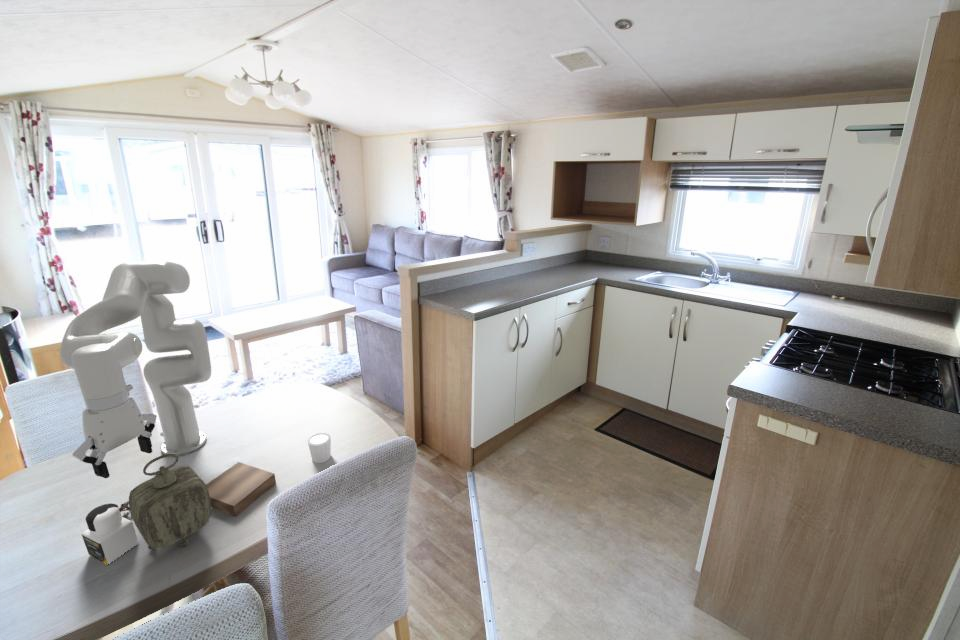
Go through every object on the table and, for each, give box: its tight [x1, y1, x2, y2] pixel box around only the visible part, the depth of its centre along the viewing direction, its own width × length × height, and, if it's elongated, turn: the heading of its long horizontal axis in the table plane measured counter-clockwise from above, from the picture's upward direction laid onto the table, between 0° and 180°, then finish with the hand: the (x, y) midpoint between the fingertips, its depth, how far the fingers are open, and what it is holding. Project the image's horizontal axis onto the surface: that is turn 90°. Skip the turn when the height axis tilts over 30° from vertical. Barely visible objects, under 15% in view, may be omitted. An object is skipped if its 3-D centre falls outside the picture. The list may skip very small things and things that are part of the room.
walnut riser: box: [205, 461, 277, 517], centre depth 127 cm, size 14×14×4 cm
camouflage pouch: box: [128, 454, 212, 550], centre depth 107 cm, size 14×9×25 cm, turn 140°
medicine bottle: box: [81, 503, 139, 566], centre depth 106 cm, size 7×7×12 cm
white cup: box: [307, 432, 332, 464], centre depth 142 cm, size 7×7×7 cm
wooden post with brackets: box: [119, 500, 131, 519], centre depth 116 cm, size 2×8×4 cm, turn 146°
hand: (126, 463), depth 104 cm, fingers open, 9 cm apart
